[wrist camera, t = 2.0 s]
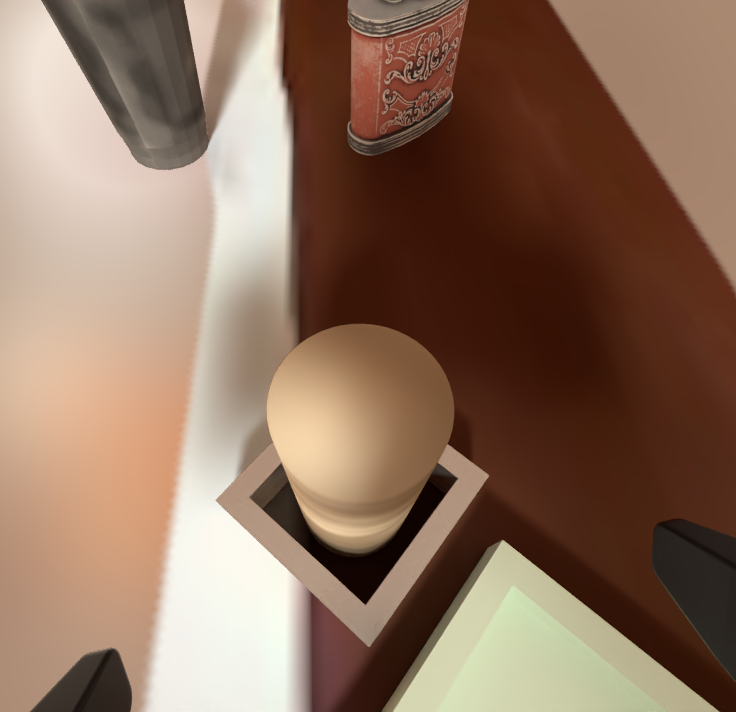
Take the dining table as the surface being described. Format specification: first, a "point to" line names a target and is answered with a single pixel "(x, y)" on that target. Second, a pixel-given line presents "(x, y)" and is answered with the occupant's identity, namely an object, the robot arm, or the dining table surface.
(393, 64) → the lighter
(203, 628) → the dining table surface
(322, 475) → the pin
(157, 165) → the beverage cup
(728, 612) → the robot arm
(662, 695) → the tray
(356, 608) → the pin socket
